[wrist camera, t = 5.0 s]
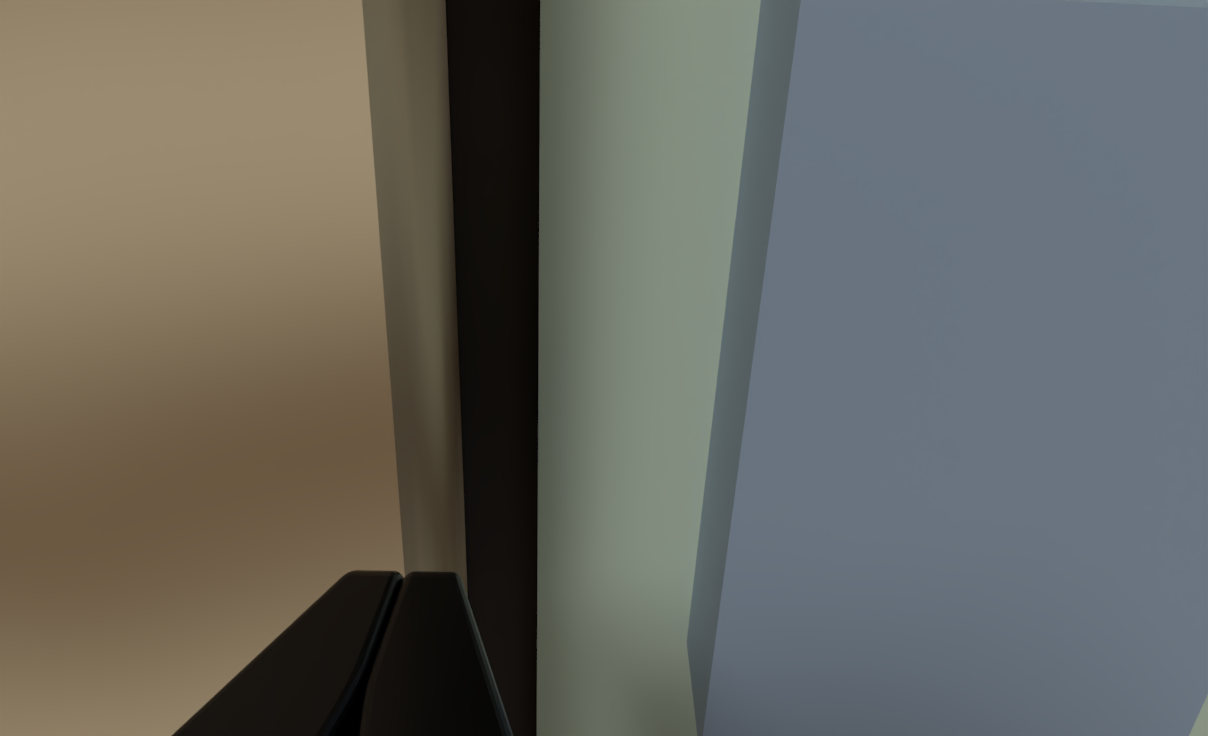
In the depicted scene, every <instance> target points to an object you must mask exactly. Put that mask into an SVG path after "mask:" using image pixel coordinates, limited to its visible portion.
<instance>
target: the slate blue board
mask: <svg viewBox="0 0 1208 736" xmlns="http://www.w3.org/2000/svg"><path fill="white" fill-rule="evenodd" d="M687 650H688V659H689V667H690V676H691V684H692V693H693V702H694V710H695V719H696V728H697V736H1189V735H1190V732H1191V730H1192V728H1193V726H1194V724H1195V721H1196V719H1197V717H1198V715H1199V713H1200V710H1201V708H1202V706H1203V704H1204V702H1205V699H1206V697H1207V695H1208V0H761V4H760V12H759V21H758V30H757V38H756V47H755V56H754V64H753V73H752V81H751V90H750V99H749V107H748V116H747V125H746V133H745V142H744V151H743V159H742V168H741V176H740V185H739V194H738V202H737V211H736V220H735V228H734V237H733V246H732V254H731V263H730V271H729V280H728V289H727V297H726V306H725V315H724V323H723V332H722V341H721V349H720V358H719V366H718V375H717V384H716V392H715V401H714V410H713V418H712V427H711V436H710V444H709V453H708V461H707V470H706V479H705V487H704V496H703V505H702V513H701V522H700V531H699V539H698V548H697V556H696V565H695V574H694V582H693V591H692V600H691V608H690V617H689V626H688V634H687Z"/></svg>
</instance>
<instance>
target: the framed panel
mask: <svg viewBox="0 0 1208 736" xmlns="http://www.w3.org/2000/svg"><path fill="white" fill-rule="evenodd" d="M355 570H381V571H397V572H399V573H400V574H401V575H402V576H403V577H405V575H407V574H408V573H410V572H412V571H439V572H455V573H456V574H458V575H459V576H460V577H461V579H462V582H463V585H464V588H465V591H466V594H467V597H468V592H467V566H466V539H465V512H464V485H463V458H462V431H461V405H460V378H459V351H458V324H457V297H456V270H455V244H454V217H453V190H452V163H451V136H450V109H449V83H448V56H447V29H446V2H445V0H0V736H172V735H173V734H174V733H175V732H176V731H177V730H178V729H179V728H180V727H181V726H182V725H183V724H184V723H185V722H187V721H188V720H189V719H190V718H191V717H192V716H193V715H194V714H195V713H196V712H197V711H198V710H199V709H200V708H202V707H203V706H204V705H205V704H206V703H207V702H208V701H209V700H210V699H211V698H212V697H213V696H214V695H215V694H217V693H218V692H219V691H220V690H221V689H222V688H223V687H224V686H225V685H226V684H227V683H228V682H229V681H230V680H232V679H233V678H234V677H235V676H236V675H237V674H238V673H239V672H240V671H241V670H242V669H243V668H244V667H245V666H247V665H248V664H249V663H250V662H251V661H252V660H253V659H254V658H255V657H256V656H257V655H258V654H259V653H261V652H262V651H263V650H264V649H265V648H266V647H267V646H268V645H269V644H270V643H271V642H272V641H273V640H274V639H276V638H277V637H278V636H279V635H280V634H281V633H282V632H283V631H284V630H285V629H286V628H287V627H288V626H289V625H291V624H292V623H293V622H294V621H295V620H296V619H297V618H298V617H299V616H300V615H301V614H302V613H303V612H304V611H306V610H307V609H308V608H309V607H310V606H311V605H312V604H313V603H314V602H315V601H316V600H317V599H318V598H319V597H321V596H322V595H323V594H324V593H325V592H326V591H327V590H328V589H329V588H330V587H331V586H332V585H333V584H334V583H336V582H337V581H338V580H339V579H340V578H341V577H342V576H343V575H345V574H346V573H348V572H350V571H355Z"/></svg>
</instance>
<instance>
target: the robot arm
mask: <svg viewBox="0 0 1208 736" xmlns="http://www.w3.org/2000/svg"><path fill="white" fill-rule="evenodd" d="M172 736H513V733H512V730H511V727H510V724H509V721H508V718H507V715H506V712H505V709H504V706H503V703H502V700H501V697H500V694H499V691H498V688H497V685H496V682H495V679H494V676H493V673H492V670H491V667H490V664H489V661H488V658H487V655H486V652H485V649H484V646H483V643H482V640H481V637H480V634H479V631H478V627H477V624H476V621H475V618H474V615H473V612H472V609H471V606H470V603H469V600H468V597H467V594H466V591H465V588H464V585H463V582H462V579H461V577H460V576H459V575H458V574H456V573H455V572H439V571H412V572H410V573H408V574H407V575H405V577H403V576H402V575H401V574H400V573H399V572H397V571H381V570H355V571H350V572H348V573H346V574H345V575H343V576H342V577H341V578H340V579H339V580H338V581H337V582H336V583H334V584H333V585H332V586H331V587H330V588H329V589H328V590H327V591H326V592H325V593H324V594H323V595H322V596H321V597H319V598H318V599H317V600H316V601H315V602H314V603H313V604H312V605H311V606H310V607H309V608H308V609H307V610H306V611H304V612H303V613H302V614H301V615H300V616H299V617H298V618H297V619H296V620H295V621H294V622H293V623H292V624H291V625H289V626H288V627H287V628H286V629H285V630H284V631H283V632H282V633H281V634H280V635H279V636H278V637H277V638H276V639H274V640H273V641H272V642H271V643H270V644H269V645H268V646H267V647H266V648H265V649H264V650H263V651H262V652H261V653H259V654H258V655H257V656H256V657H255V658H254V659H253V660H252V661H251V662H250V663H249V664H248V665H247V666H245V667H244V668H243V669H242V670H241V671H240V672H239V673H238V674H237V675H236V676H235V677H234V678H233V679H232V680H230V681H229V682H228V683H227V684H226V685H225V686H224V687H223V688H222V689H221V690H220V691H219V692H218V693H217V694H215V695H214V696H213V697H212V698H211V699H210V700H209V701H208V702H207V703H206V704H205V705H204V706H203V707H202V708H200V709H199V710H198V711H197V712H196V713H195V714H194V715H193V716H192V717H191V718H190V719H189V720H188V721H187V722H185V723H184V724H183V725H182V726H181V727H180V728H179V729H178V730H177V731H176V732H175V733H174V734H173V735H172Z"/></svg>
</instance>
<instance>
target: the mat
mask: <svg viewBox="0 0 1208 736" xmlns="http://www.w3.org/2000/svg"><path fill="white" fill-rule="evenodd" d="M760 4H761V0H540V148H539V352H538V557H537V736H697V728H696V719H695V710H694V702H693V693H692V684H691V676H690V667H689V659H688V650H687V634H688V626H689V617H690V608H691V600H692V591H693V582H694V574H695V565H696V556H697V548H698V539H699V531H700V522H701V513H702V505H703V496H704V487H705V479H706V470H707V461H708V453H709V444H710V436H711V427H712V418H713V410H714V401H715V392H716V384H717V375H718V366H719V358H720V349H721V341H722V332H723V323H724V315H725V306H726V297H727V289H728V280H729V271H730V263H731V254H732V246H733V237H734V228H735V220H736V211H737V202H738V194H739V185H740V176H741V168H742V159H743V151H744V142H745V133H746V125H747V116H748V107H749V99H750V90H751V81H752V73H753V64H754V56H755V47H756V38H757V30H758V21H759V12H760ZM1189 736H1208V695H1207V697H1206V699H1205V702H1204V704H1203V706H1202V708H1201V710H1200V713H1199V715H1198V717H1197V719H1196V721H1195V724H1194V726H1193V728H1192V730H1191V732H1190V735H1189Z"/></svg>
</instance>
